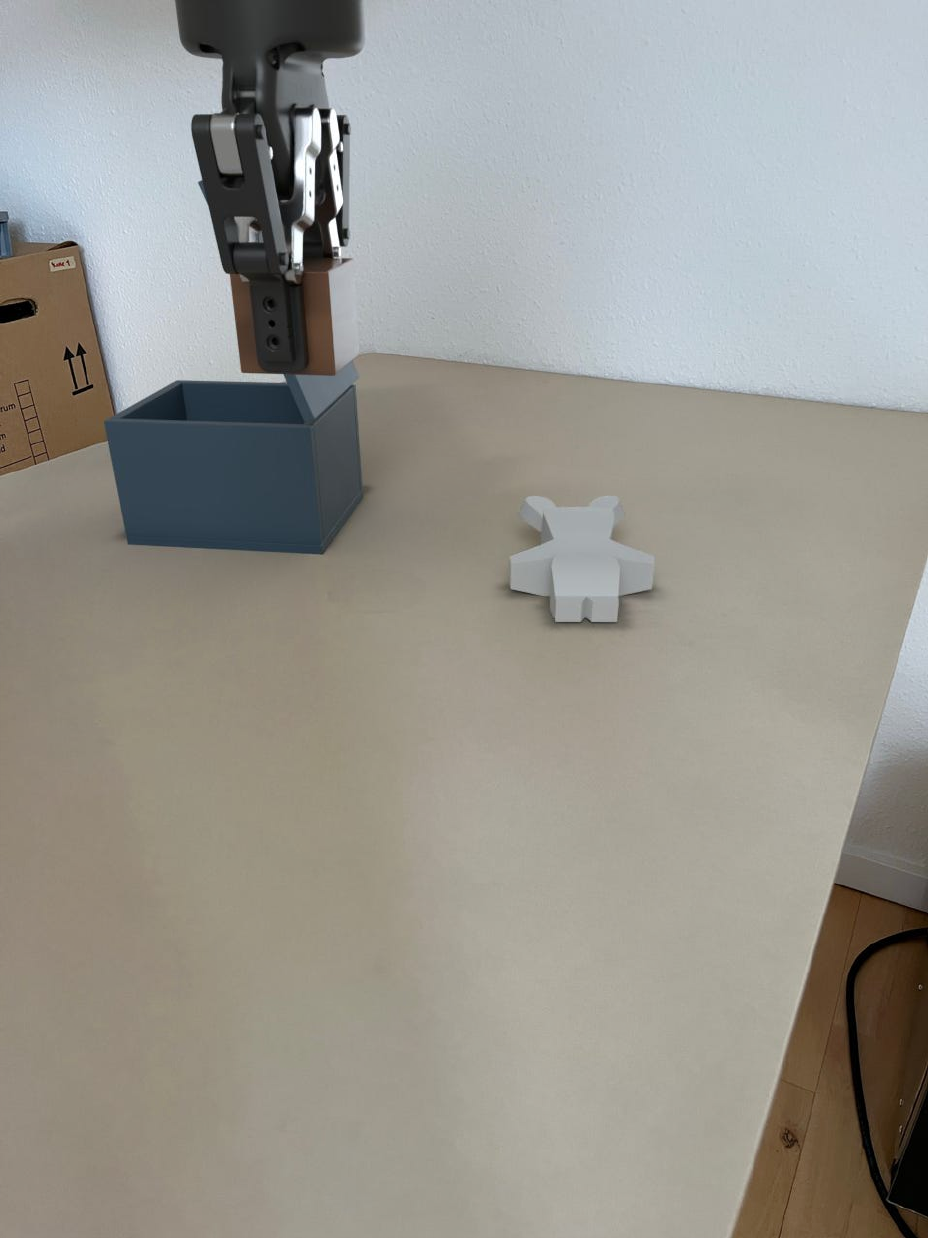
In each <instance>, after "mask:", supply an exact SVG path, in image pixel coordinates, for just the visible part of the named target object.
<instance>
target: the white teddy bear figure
mask: <svg viewBox="0 0 928 1238" xmlns="http://www.w3.org/2000/svg"><path fill="white" fill-rule="evenodd" d="M517 515H518V517H519V518H520V519H521V520H523V521H524V522H525V523H526V524H528V525H530V526H531V527H533V528H534V529H535V530H536V531H538V532H540V539H541V540H540V541H541V542H540V543H541V544H539V545H536V546H534V547H531V548H528V549H525V550H523V551H520V552H518V553H515V554H512V555H509V572H508V573H509V575H508V577H509V584H508V585H509V588H510V590H514V591H519V592H523V593H527V594H532V595H537V596H540V597H541V596H542V597H549V610H550V613H551V615H552V618H553V619H554V622H555V623H582V621H583V620H584V619H585V618H586V619H587V620H588V621H590V622H591V623H617V622H618V617H619V616H618V615H619V606H620V605H619V604H620V600H619V599H620V598H619V597H623V596H626V595H630V594H636V593H640V592H645V591H650V590H652V589H653V583H654V573H655V563H656V562H655V561H656V560H655V556H654V555H651V554H650V553H646V552H644V551H642V550H641V551H640V550H638V549H636V548H632V547H630V546H627V545H624V544H622V543H620V542H618V541H615V540H613V537H614V536H613V535H614V528H615V527H616V526H617V525H618V524H619V523H620V522H621V521H622V520H623V519H625V518H626V517H625V516H626V512H625V509H624V506H623V503H622V501H621V498H619V497H617V496H616V495H602V496H597V497H596V498H594V499H593V500H591V501H590V503H589V504H588V506H562V507H557V505H556V504H555V502H553V501H552V500H551V499H549V498H548V497H544V496H541V495H529V496H527V497H525V498H524V500H523V503H522V504H521V506H520V509H519V511H518V514H517Z"/></svg>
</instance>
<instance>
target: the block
mask: <svg viewBox="0 0 928 1238" xmlns="http://www.w3.org/2000/svg"><path fill="white" fill-rule="evenodd" d="M355 266H356V265H355V258H353V257H344V258H343V257H340V258H303V275H302V280H301V283H300V284H303V291H304V303H305V315H306V327H307V339H308V351H309V363H308V365H307V367H306V368H304V369H303V370H302V371H300V372H298V373H286V372H267V371H264V370H263V369H262V368H261V367H260V366H259V364H258V360H257V351H256V341H255V332H254V323H253V314H252V304H251V295H250V285H251V283H243V282H242V280H241V278H240V274H229V279H230V280H229V281H230V288H231V298H232V305H233V314H234V322H235V330H236V331H235V332H236V338H237V341H236V342H237V349H238V358H239V366H240V372H241V373H242V374H261V375H262V374H263V375H283V374H291V375H324V376H335V375H336V374H337V373H339V372H340V371H341V370H342V369H343V368H344V367H345V366H347V365H348V364H349V363H350V362H351V361H352V360H353V361H354V360H355V359H356V358H357V357H359V356H360V354H361V353H360V336H359V335H360V334H359V320H358V319H359V318H358V303H357V286H356V285H357V284H356V282H357V281H356V270H355V269H356V267H355Z"/></svg>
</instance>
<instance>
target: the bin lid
mask: <svg viewBox="0 0 928 1238" xmlns="http://www.w3.org/2000/svg"><path fill="white" fill-rule="evenodd" d="M197 184H198V186H199V189H200V191H201V193H202V195H203V198H204V200H205V202H206V204H207V205H208V203H207V198H206V194H205V190H204V185H203V181H202V179H201V180H199V181H198V182H197ZM235 223H236V222H235ZM236 228H237V233H238V237H239V228H238V224H237V223H236ZM259 242H263V237H262V232H261V231H260V233H259ZM282 375H283V377H284V379H285V381H286V383H287V384H288V386H289V388H290V390H291V393H292V395H293V397H294V399H295V402H296V404H297V406H298V408H299V411H300V413H301V415H302V417H303V420H304V422H305V423H306V422H309V421H312V420H314V419H315V418H316V417H318V416H319V415H320V414H321V413H322V412H323V411H324V410H325V409H326V408H327V407H328V406H329V405H330V404H331V403H333V402H334V401H335V400H336V399H337V398H338V397H339V396H340V395H341V394H342V393H343V392H344V391H345V390H346V389H347V388H349V387H350V386H351V385H354V383H355V382H356V381H357V380H358V379H359V378H360V374H359V372H358V370H357V368H356V365H355V363H354V360H352V361H351V362H350V363H349V364H348V365H347V366H345V367H344V368H343V369H342V370H341V371H340V372H339V373H337V374H336V375H335V376H324V375H291V374H282Z"/></svg>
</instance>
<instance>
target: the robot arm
mask: <svg viewBox="0 0 928 1238" xmlns="http://www.w3.org/2000/svg"><path fill="white" fill-rule="evenodd" d="M364 2H365V1H364V0H174V5H175V12H176V19H177V28H178V36H179V41H180V43H181V46H182V47H183V48H184V50H185V51H186V52H187V53H189V54H190V55H193V56H195V57H199V58H205V59H216V60H218V59H219V60H222V67H221V70H222V71H221V73H222V81H221V97H220V99H221V101H220V103H221V111H220V112H214V113H210V114H209V113H203V114H202V113H201V114H198V113H197V114H194V115H193V116H192V118H191V121H190V123H191V124H190V132H191V138H192V141H193V145H194V151H195V155H196V159H197V162H198V163H197V164H198V167H199V168H198V169H199V172H200V176H201V180H202V181H203V185H204V190H205V194H206V198H207V202H206V204H207V203H208V204H207V207H208V212H209V216H210V219H211V224H212V228H213V229H212V230H213V233H214V238H215V242H216V246H217V250H218V254H219V258H220V263H221V267H222V270H223V272H224V273H225V274H226V275H230V274H240V278H241V280H242V282H243V283H251V285H250V295H251V304H252V314H253V323H254V332H255V341H256V351H257V360H258V364H259V366H260V367H261V368H262V369H263V370H264V371H267V372H286V373H298V372H300V371H302V370H303V369H304V368H306V367H307V365H308V363H309V351H308V339H307V327H306V315H305V303H304V291H303V284H300V283H301V280H302V275H303V258H342V248H343V247H344V248H347V247H348V245H349V240H350V239H351V230H350V174H351V173H350V172H351V170H350V167H351V166H350V163H351V161H350V159H351V158H350V157H351V134H352V126H351V123H350V121H349V120H350V119H349V117H348V115H347V114H337V112H336V110H335V108H333V107H330V102H329V97H328V91H327V87H326V79H325V75H324V72H323V69H324V65H323V63H324V62H325V61H326V60H328V59H329V60H330V59H345V58H351V57H355V56H356V55H358V54H360V53H361V52H362V50H363V49H364V47H365V44H366V25H365V23H366V22H365V5H364V4H365V3H364ZM235 222H236V223H237V224H238V228H239V237H238V233H237V228H236V223H235ZM260 231H261V232H262V237H263V242H259V233H260Z"/></svg>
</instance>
